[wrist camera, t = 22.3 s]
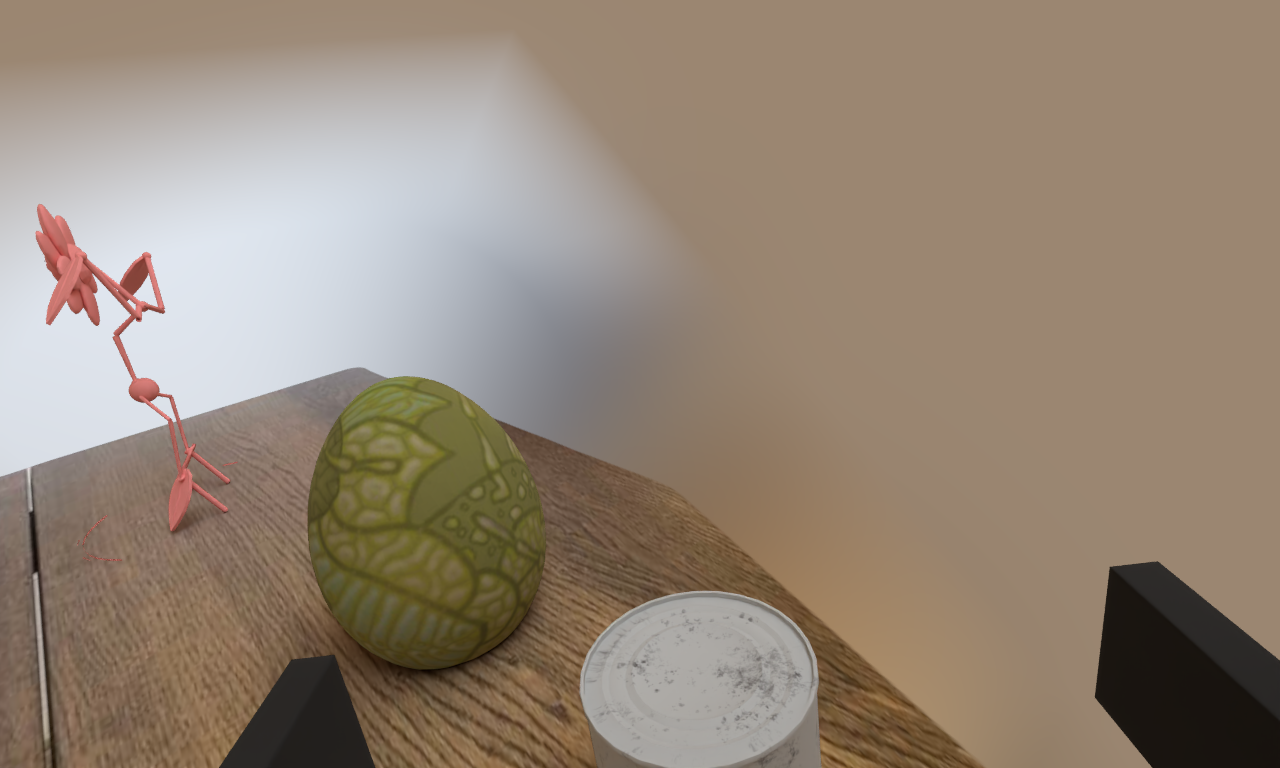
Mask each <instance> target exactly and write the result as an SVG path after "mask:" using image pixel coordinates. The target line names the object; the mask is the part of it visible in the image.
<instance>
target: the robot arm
mask: <svg viewBox="0 0 1280 768" xmlns="http://www.w3.org/2000/svg"><path fill="white" fill-rule="evenodd" d="M1095 698H1096V699H1097V701H1098V702H1099V703H1100V704H1101V705H1102V707H1103V708H1104V709H1105V710H1106V712H1107V713H1108V714H1109V715H1110V716H1111V718H1112V719H1113V720H1114V721H1115V722H1116V724H1117V725H1118V726H1119V727H1120V729H1121V730H1122V731H1123V732H1124V734H1125V735H1126V736H1127V737H1128V738H1129V740H1130V741H1131V742H1132V743H1133V745H1134V746H1135V747H1136V748H1137V749H1138V751H1139V752H1140V753H1141V754H1142V756H1143V757H1144V758H1145V759H1146V761H1147V762H1148V763H1149V764H1150V765H1151V767H1152V768H1280V660H1278V659H1277V658H1276V657H1275V656H1273V655H1272V654H1271V653H1270V652H1269V651H1267V650H1266V649H1265V648H1263V647H1262V646H1261V645H1260V644H1259V643H1258V642H1256V641H1255V640H1254V639H1253V638H1251V637H1250V636H1249V635H1248V634H1246V633H1245V632H1244V631H1243V630H1242V629H1240V628H1239V627H1238V626H1237V625H1235V624H1234V623H1233V622H1232V621H1230V620H1229V619H1228V618H1227V617H1225V616H1224V615H1223V614H1222V613H1221V612H1219V611H1218V610H1217V609H1216V608H1214V607H1213V606H1212V605H1211V604H1210V603H1208V602H1207V601H1206V600H1204V599H1203V598H1202V597H1201V596H1199V594H1197V593H1196V592H1195V591H1194V590H1192V589H1191V588H1190V587H1189V586H1187V585H1186V584H1185V583H1184V582H1182V581H1181V580H1180V579H1179V578H1178V577H1176V576H1175V575H1174V574H1173V573H1171V572H1170V571H1169V570H1168V569H1167V568H1165V567H1164V566H1163V565H1161V564H1160V563H1159V562H1148V563H1140V564H1132V565H1122V566H1113V567H1110V570H1109V579H1108V588H1107V596H1106V605H1105V614H1104V622H1103V631H1102V640H1101V648H1100V657H1099V666H1098V674H1097V683H1096V692H1095ZM219 768H375V765H374V763H373V760H372V757H371V754H370V752H369V749H368V746H367V743H366V741H365V738H364V735H363V732H362V730H361V727H360V724H359V721H358V719H357V716H356V713H355V710H354V708H353V705H352V702H351V699H350V697H349V694H348V691H347V688H346V686H345V683H344V680H343V677H342V675H341V672H340V669H339V666H338V664H337V661H336V658H335V655H329V656H320V657H311V658H302V659H294V660H291V661H290V663H289V664H288V666H287V667H286V669H285V670H284V672H283V673H282V675H281V676H280V678H279V679H278V681H277V682H276V684H275V685H274V687H273V688H272V690H271V691H270V693H269V694H268V696H267V697H266V699H265V700H264V702H263V703H262V705H261V706H260V708H259V709H258V710H257V712H256V713H255V715H254V716H253V718H252V719H251V721H250V722H249V724H248V725H247V727H246V728H245V730H244V731H243V733H242V734H241V736H240V737H239V739H238V740H237V742H236V743H235V745H234V746H233V748H232V749H231V751H230V752H229V754H228V755H227V757H226V758H225V760H224V761H223V763H222V764H221V766H220V767H219Z"/></svg>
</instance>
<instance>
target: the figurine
mask: <svg viewBox="0 0 1280 768" xmlns="http://www.w3.org/2000/svg"><path fill="white" fill-rule="evenodd" d="M37 212H38V217H39V221H40V225H41V227H42V230H43V233H44V234H42V233H41V232H39V231H36V240H37V242H38V244H39V247H40V249H41V250H42V252H43V254H44V255H45V260H46V262H47V264H46V266H47V268H48V269H49V270H50V271H51V272H52V274H53V276H54V277H55V278H56V280H57V281H58V284H57V285H56V288H55V290H54V292H53V294H52V297H51V300H50V303H49V305H48V310H47V318H46V324H49V325H51V323H52V322H53V321H54V319H55V318H56V316H57V315H58V313H59V312H60V310H61V308H62V307H63V305H64V304H65V302H66V301H67V303H68V305H69V307H70V309H71V310H72V311H73V312H74V313H75V314H77V313H79V312H80V311H81V310H82V308H84V309H85V310H86V312H87V314H88V317H89V318H90V320H91V321H92V322H93V324H95V325H96V326H98V325H99V322H100V317H99V312H98V306H97V302H96V299H95V296H94V294H93V293H96V292H97V285H96V282H95V280H94V277H93V275H92V273H93V274H94V275H95V276H96V277H97V278H98V279H99V280H100V282H102V284H103V285H104V286H105V287H106V288H107V289H108V290H109V291H110V292H111V293H112V295H113V296H114V297H115V298H116V299H117V300H118V301H119V302H120V303H121V304H122V305H123V307H124V308H125V309H126V310H127V311H128V312H129V313H130V314H131V316H130V317H129V318H128V319H127V320H126V321H125V322H124V323H123V324H122V325H121V326H120V327H119V328H118V329H117V330H116V331H115V332H114V335H115V336H114V337H113V339H114V341H115V344H116V346H117V348H118V350H119V352H120V354H121V356H122V358H123V360H124V363H125V365H126V367H127V369H128V371H129V373H130V375H131V377H132V379H133V381H132V384H131V385H130V387H129V394H130V396H131V397H132V398H133V399H134V400H136V401H138V402H142V403H146V404H147V405H149V406H150V407H151V408H152V409H154V410H155V411H156V412H158V413H159V414H160V415H161V416H163V417H164V418H165V419H167V420H168V424H169V428H170V433H171V438H172V443H173V448H174V453H175V458H176V463H177V468H178V473H179V474H178V476H177V478H176V480H175V482H174V485H173V487H172V490H171V494H170V498H169V522H170V529H171V531H174V530H175V529H176V528H177V526H178V525H179V523H180V521H181V520H182V518H183V516H184V514H185V513H186V510H187V508H188V505H189V502H190V498H191V493H192V488H193V489H194V490H195V491H197V492H198V493H199V494H201V495H202V496H203V497H205V498H206V499H207V500H209V501H210V502H211V503H212V504H214V505H215V506H216V507H218V508H219V509H220V510H222V511H223V512H226V511H227V510H228V508H227V507H225V506H224V505H223V504H221V503H220V502H219V501H217V500H216V499H215V498H214V497H212V496H211V495H210V494H208V493H207V492H206V491H205V490H203V489H202V488H201V487H199V486H198V485H197V484H195V483H194V482H193V481H192V475H191V472H190V470H189V469H187V466H188V464H189V462H190V459H191V457H194V458H195V459H196V460H197V461H199V462H200V463H201V464H202V465H204V466H205V467H206V468H207V469H209V470H210V471H211V472H212V473H214V474H215V475H216V476H218V477H219V478H220V479H221V480H223V481H224V482H225V483H226V484H228V483H229V482H230V480H229V479H228V478H227V477H225V476H224V475H223V474H222V473H220V472H219V471H218V470H217V469H215V468H214V467H213V466H212V465H210V464H209V463H208V462H207V461H205V460H204V459H203V458H202V457H200V456H199V455H198V454H197V453H195V452H194V449H195V446H196V444H192V446H191V448H190V447H188V444H187V441H186V437H185V434H184V431H183V428H182V425H181V421H180V418H179V415H178V412H177V409H176V405H175V402H174V399H173V397H172V395H167V394H161V393H159V387H158V385H157V384H156V382H154V381H153V380H151V379H148V378H141V379H137V378H136V376H135V374H134V371H133V369H132V366H131V364H130V361H129V359H128V356H127V354H126V352H125V349H124V347H123V344H122V342H121V340H120V337H119V335H120V334H121V333H122V332H123V331H124V329H126V327H127V326H128V325H129V324H130V323H131V322H132V321H133V320H134V319H135V318H136V321H137V322H141V320H142V312H145V311H147V310H148V309H149V310H152V311H155V312H159V313H162V314H163V313H165V311H164V309H165V308H164V305H163V301H162V298H161V294H160V291H159V288H158V284H157V280H156V277H155V274H154V270H153V266H152V263H151V259H150V258H151V255H150V254H149V253H147V252H145V253H143V254H142V256H141V257H139V258H138V259H137V260H135V261H134V262H133V263H132V265H131V266H130V267H129V269H128V270H127V271H126V273H125V274H124V276H123V278H122V280H121V282H120V285H119V284H117V283H116V282H115V281H114V280H112V279H111V278H110V277H109V276H107V275H106V274H105V273H104V272H102V271H101V270H100V269H99V268H97V267H96V266H95V265H93V264H92V263H91V262H90V261H89V260H88V259H87V255H86V253H84V252H82V250H81V249H80V248H78V247H77V246H75V242H74V239H73V236H72V234H71V232H70V229H69V227H68V225H67V223H66V221H65V220H64V219H63V218H62V217H61V216H56V217H55V220H54V218H53V217H52V216H51V214H50V213H49V212H48V211H47V209H46V208H45V207H44V206H43V205H42V204H39V205H38V207H37ZM148 273H149V276H150V279H151V282H152V286H153V289H154V293H155V296H156V300H157V304H158V307H159V308H158V307H155V306H152V305H149V304H147V303H146V302H143V301H141V302H140V301H139V300H137V299H136V298H135V297H134V296H133V295H134V293H135V292H136V291H137V290H138V289H139V288H140V287H141V285H142V284H143V282H144V281H145V279H146V277H147V276H148ZM114 288H116V289H117V290H118V291H117V290H116V289H114ZM129 299H130V300H131V301H132V302H133V303H134V304H136V311H135V310H134V309H133V308H132V307H131V306H130V304H129V303H128V302H127V301H128V300H129ZM157 396H161V397H168V398H169V399H170V402H171V405H172V408H173V411H174V414H175V417H176V421H177V424H178V427H179V430H180V433H181V436H182V439H183V442H184V445H185V448H186V451H185V454H187V457H186V459H185V462H184V464H183V466H182V469H181V464H180V458H179V453H178V448H177V442H176V437H175V432H174V426H173V422H172V419H171V418H169V417H168V416H167V415H166V414H164V413H163V412H162V411H160V410H159V409H158V408H157V407H155V406H154V405H153V404H152V403H151V402H150V401H152V400H154V399H155V398H156V397H157ZM234 463H238V462H234ZM234 463H229V464H225V465H230V464H234ZM225 465H223V466H225ZM106 517H107V515H106V516H105V517H104V518H106ZM104 518H103V519H104ZM103 519H101V520H100V521H99V522H101V521H102V520H103ZM99 522H98V523H99ZM98 523H96V524H95V525H94V526H93V528H94V527H95V526H96V525H97V524H98ZM93 528H92V529H93ZM92 529H91V530H92ZM91 530H90V531H91ZM90 531H89V532H90ZM89 532H88V533H87V535H88V534H89ZM87 535H86V536H85V538H86V537H87ZM85 538H84V541H85ZM84 541H83V544H84ZM78 543H79V541H78ZM77 545H78V544H77ZM83 548H84V547H83ZM89 556H91V555H89ZM91 557H93V556H91ZM83 558H84V557H83ZM94 558H96V557H94ZM84 559H86V558H84ZM96 559H101V560H110V561H122V560H121V559H102V558H96ZM88 560H89V559H88Z"/></svg>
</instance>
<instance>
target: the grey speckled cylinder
mask: <svg viewBox="0 0 1280 768" xmlns="http://www.w3.org/2000/svg"><path fill="white" fill-rule="evenodd" d="M818 684H819V678H818V668H817V659H816V657H815V654H814V652H813V649H812V647H811V645H810V642H809V640H808V639H807V637H806V636H805V635H804V634H803V632H802V631H801V630H800V629H799V627H798V626H797V625H796V624H795V623H794V622H793V621H792V620H790V619H789V618H788V617H787V616H785V615H784V614H783V613H782V612H780V611H779V610H777V609H775V608H773V607H771V606H769V605H767V604H765V603H764V602H762V601H759V600H756V599H753V598H749V597H746V596H743V595H740V594H733V593H727V592H720V591H692V592H685V593H678V594H672V595H668V596H665V597H662V598H658V599H655V600H651V601H649V602H647V603H645V604H643V605H640V606H638V607H636V608H634V609H632V610H630V611H629V612H627V613H626V614H624V615H623V616H621V617H620V618H618V619H617V620H615V621H614V622H613V623H612V624H611V625H610V626H609V627H608V628H607V629H606V630H605V631H604V632H603V633H602V634H601V635H600V636H599V637H598V638H597V640H596V641H595V643H594V644H593V646H592V647H591V649H590V650H589V652H588V654H587V656H586V659H585V662H584V665H583V668H582V671H581V675H580V698H581V702H582V705H583V709H584V713H585V717H586V718H587V720H588V725H589V729H590V734H591V739H592V744H593V749H594V754H595V758H596V763H597V768H821V756H820V739H819V721H818V704H817V689H818Z"/></svg>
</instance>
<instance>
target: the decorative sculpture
mask: <svg viewBox="0 0 1280 768" xmlns="http://www.w3.org/2000/svg"><path fill="white" fill-rule="evenodd" d="M308 541H309V550H310V556H311V561H312V565H313V569H314V572H315V576H316V579H317V582H318V585H319V587H320V590H321V592H322V595H323V597H324V599H325V601H326V603H327V605H328V607H329V609H330V610H331V612H332V613H333V615H334V616H335V618H336V619H337V621H338V622H339V623H340V624H341V626H342V627H343V628H344V629H345V631H346V632H347V633H348V634H349V635H350V636H351V637H352V638H353V639H354V640H356V641H357V642H358V643H359V644H360V645H361V646H362V647H364V648H365V649H367V650H368V651H370V652H371V653H373V654H375V655H377V656H378V657H380V658H382V659H385V660H387V661H389V662H392V663H394V664H396V665H400V666H403V667H407V668H413V669H440V668H446V667H451V666H454V665H457V664H460V663H464V662H467V661H470V660H472V659H475V658H477V657H478V656H480V655H482V654H484V653H486V652H488V651H489V650H491V649H492V648H494V647H495V646H497V645H498V644H499V643H501V642H502V641H503V640H504V639H505V638H507V637H508V636H509V635H510V634H511V633H512V632H513V631H514V630H515V629H516V628H517V626H518V625H519V624H520V622H521V621H522V619H523V618H524V616H525V615H526V613H527V611H528V609H529V607H530V605H531V603H532V601H533V600H534V597H535V595H536V592H537V590H538V587H539V584H540V580H541V576H542V572H543V567H544V562H545V551H546V532H545V521H544V515H543V510H542V505H541V501H540V498H539V494H538V491H537V488H536V485H535V482H534V480H533V478H532V476H531V473H530V471H529V469H528V467H527V465H526V462H525V461H524V459H523V457H522V456H521V454H520V452H519V451H518V449H517V447H516V446H515V444H514V443H513V441H512V440H511V439H510V437H509V436H508V435H507V434H506V432H505V431H504V430H503V429H502V428H501V426H500V425H499V424H498V423H497V422H496V421H495V420H494V419H493V418H492V417H491V416H490V415H489V414H488V413H487V412H485V410H483V409H482V408H481V407H480V406H478V405H477V404H476V403H475V402H473V401H472V400H470V399H469V398H467V397H466V396H464V395H463V394H461V393H460V392H458V391H456V390H454V389H453V388H451V387H449V386H446V385H444V384H442V383H439V382H436V381H433V380H429V379H425V378H420V377H408V376H403V377H395V378H389V379H386V380H384V381H381V382H378V383H376V384H374V385H372V386H370V387H369V388H367V389H366V390H364V391H363V392H362V393H360V394H359V395H358V396H357V397H356V398H355V399H354V400H353V401H352V402H351V403H350V404H349V405H348V406H347V407H346V408H345V409H344V411H343V412H342V413H341V415H340V416H339V417H338V419H337V420H336V422H335V424H334V425H333V427H332V429H331V431H330V432H329V434H328V436H327V438H326V440H325V443H324V445H323V447H322V449H321V452H320V454H319V457H318V460H317V462H316V466H315V470H314V474H313V478H312V482H311V487H310V494H309V501H308Z"/></svg>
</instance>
